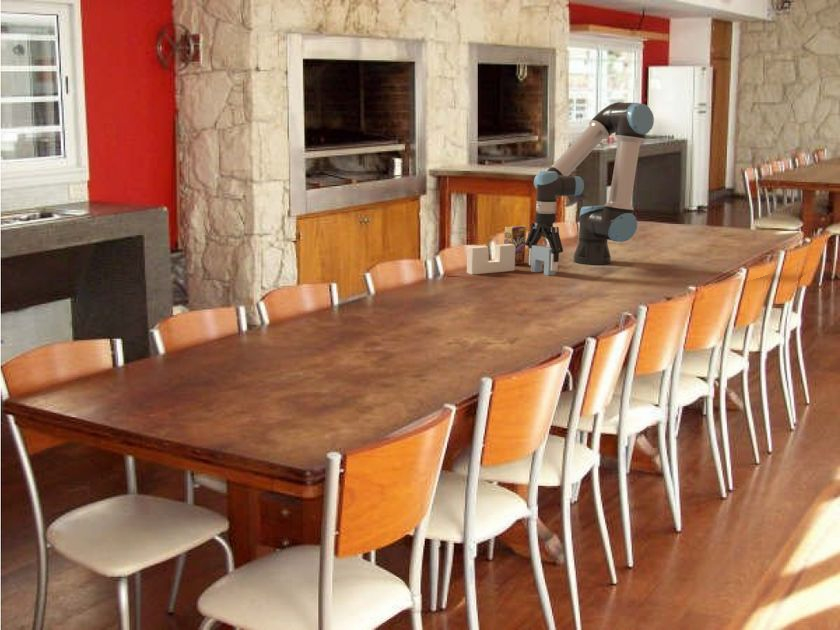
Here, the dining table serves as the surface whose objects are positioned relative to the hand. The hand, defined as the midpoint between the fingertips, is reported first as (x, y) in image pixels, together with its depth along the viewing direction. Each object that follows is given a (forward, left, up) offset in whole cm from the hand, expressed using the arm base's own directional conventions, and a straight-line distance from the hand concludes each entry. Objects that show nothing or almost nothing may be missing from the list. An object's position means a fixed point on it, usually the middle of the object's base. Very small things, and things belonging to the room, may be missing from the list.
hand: (542, 267), depth 418 cm
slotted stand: (+20, -1, -2) cm, 20 cm away
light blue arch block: (0, 0, -2) cm, 2 cm away
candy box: (+9, -20, -2) cm, 22 cm away
